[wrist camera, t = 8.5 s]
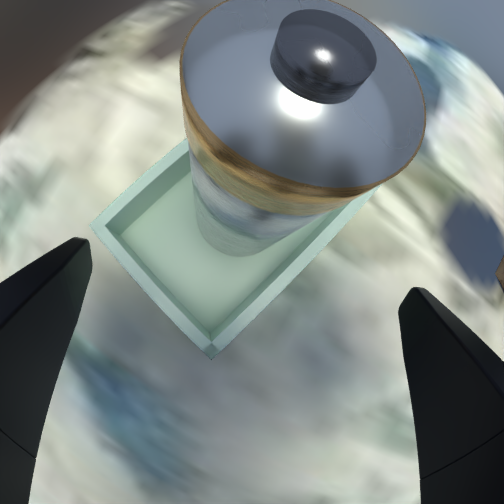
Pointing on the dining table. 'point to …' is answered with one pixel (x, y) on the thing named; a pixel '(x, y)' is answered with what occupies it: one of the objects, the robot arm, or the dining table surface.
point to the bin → (501, 272)
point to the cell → (291, 116)
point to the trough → (202, 254)
